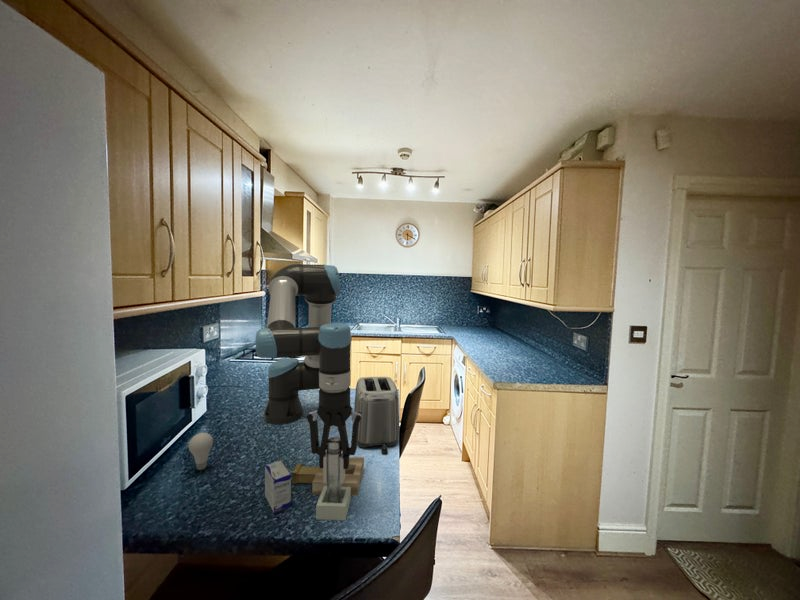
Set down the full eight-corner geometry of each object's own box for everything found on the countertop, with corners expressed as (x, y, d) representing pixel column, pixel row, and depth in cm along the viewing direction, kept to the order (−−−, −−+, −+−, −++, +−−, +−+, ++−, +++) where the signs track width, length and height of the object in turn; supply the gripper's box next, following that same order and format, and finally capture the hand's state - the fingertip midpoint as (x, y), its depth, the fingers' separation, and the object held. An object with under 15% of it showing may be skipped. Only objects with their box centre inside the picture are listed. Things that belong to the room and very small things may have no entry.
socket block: (357, 495, 83) (357, 483, 83) (312, 494, 83) (312, 481, 83) (363, 468, 95) (363, 457, 95) (324, 467, 95) (324, 456, 95)
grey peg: (324, 507, 76) (324, 444, 75) (328, 496, 80) (328, 436, 79) (340, 508, 76) (340, 444, 75) (343, 497, 80) (343, 436, 79)
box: (292, 506, 79) (291, 473, 78) (273, 514, 76) (273, 480, 76) (281, 489, 85) (281, 459, 84) (264, 496, 82) (264, 465, 82)
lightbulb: (187, 478, 89) (186, 440, 88) (191, 466, 95) (190, 430, 94) (211, 473, 92) (211, 436, 91) (214, 461, 97) (214, 427, 96)
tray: (316, 519, 75) (316, 505, 74) (324, 498, 82) (324, 486, 81) (345, 520, 75) (345, 506, 74) (350, 499, 82) (350, 486, 81)
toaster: (392, 415, 132) (393, 371, 131) (404, 454, 103) (405, 398, 102) (352, 417, 130) (353, 372, 129) (352, 458, 101) (353, 400, 99)
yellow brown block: (324, 484, 87) (325, 473, 87) (292, 483, 87) (292, 472, 87) (329, 474, 92) (329, 464, 91) (297, 473, 92) (297, 463, 92)
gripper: (295, 392, 73) (296, 489, 74) (366, 394, 72) (365, 491, 74) (306, 381, 80) (306, 469, 82) (370, 383, 80) (369, 471, 81)
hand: (334, 479), depth 78 cm, fingers closed on grey peg, 3 cm apart
